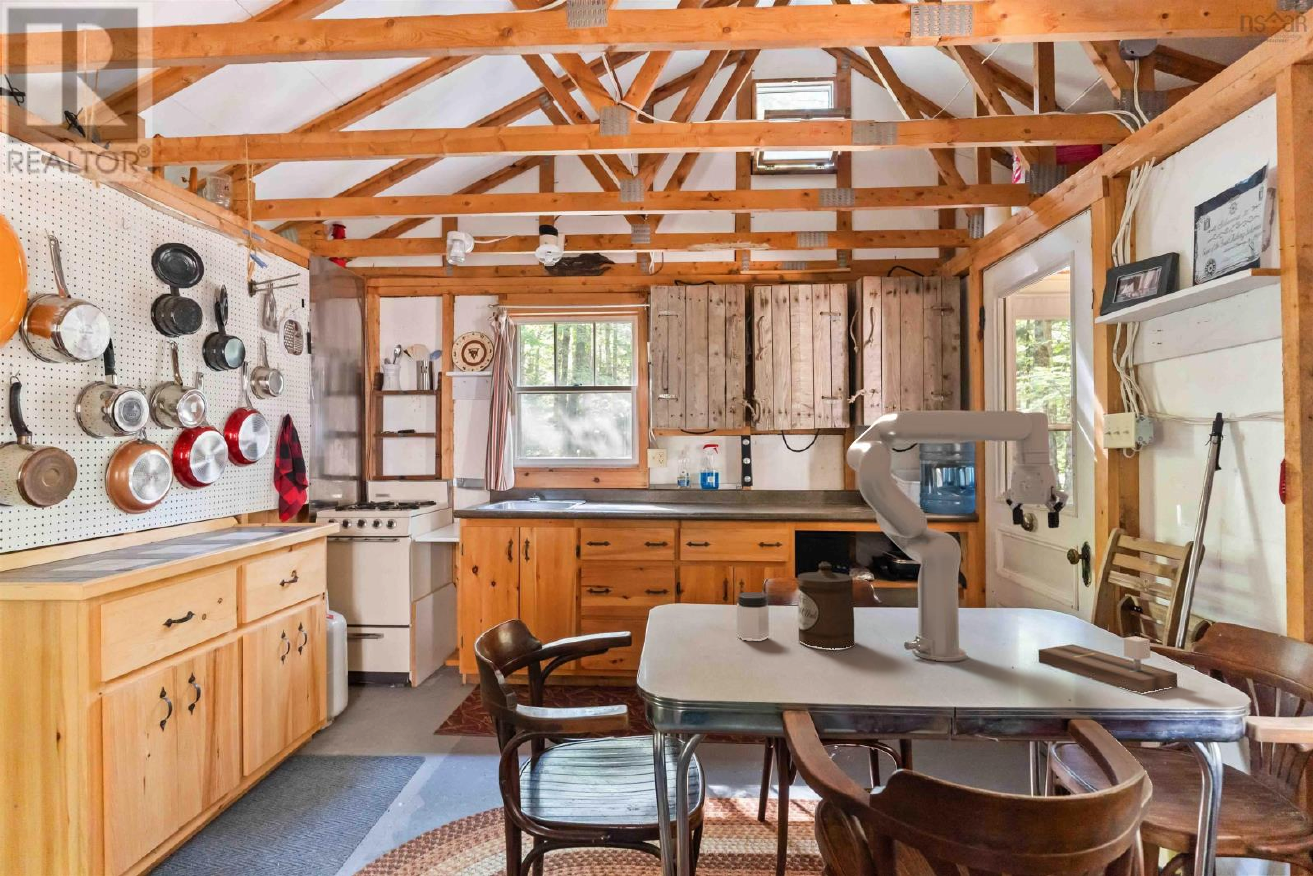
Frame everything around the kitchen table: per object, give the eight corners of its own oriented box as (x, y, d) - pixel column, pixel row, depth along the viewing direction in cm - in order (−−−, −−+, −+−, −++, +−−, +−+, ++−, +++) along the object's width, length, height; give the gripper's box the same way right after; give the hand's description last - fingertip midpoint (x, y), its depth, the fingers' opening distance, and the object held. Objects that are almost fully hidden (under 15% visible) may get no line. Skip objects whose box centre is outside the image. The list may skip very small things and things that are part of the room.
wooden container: (794, 635, 187) (793, 558, 187) (846, 635, 186) (845, 558, 187) (804, 651, 172) (803, 566, 173) (861, 651, 172) (860, 566, 172)
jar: (772, 641, 181) (772, 597, 181) (744, 643, 179) (744, 599, 180) (760, 632, 190) (760, 591, 190) (733, 634, 188) (733, 592, 188)
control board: (1141, 694, 139) (1141, 680, 139) (1038, 662, 162) (1038, 649, 162) (1177, 687, 144) (1177, 673, 144) (1072, 656, 166) (1072, 644, 166)
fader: (1138, 672, 144) (1137, 641, 144) (1124, 668, 147) (1123, 638, 147) (1150, 669, 145) (1149, 639, 145) (1136, 665, 148) (1135, 636, 148)
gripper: (993, 460, 177) (995, 524, 176) (1055, 460, 161) (1058, 530, 160) (1012, 459, 180) (1014, 522, 179) (1075, 459, 164) (1078, 528, 163)
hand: (1035, 526), depth 170 cm, fingers open, 9 cm apart
